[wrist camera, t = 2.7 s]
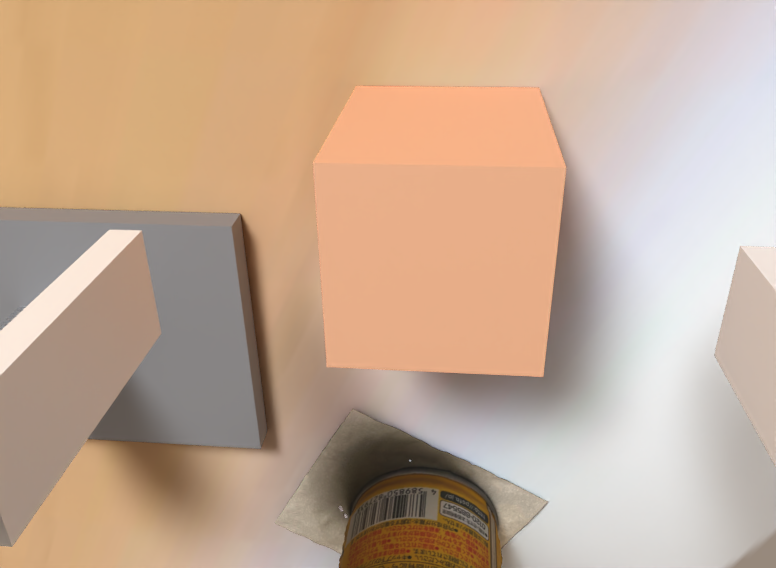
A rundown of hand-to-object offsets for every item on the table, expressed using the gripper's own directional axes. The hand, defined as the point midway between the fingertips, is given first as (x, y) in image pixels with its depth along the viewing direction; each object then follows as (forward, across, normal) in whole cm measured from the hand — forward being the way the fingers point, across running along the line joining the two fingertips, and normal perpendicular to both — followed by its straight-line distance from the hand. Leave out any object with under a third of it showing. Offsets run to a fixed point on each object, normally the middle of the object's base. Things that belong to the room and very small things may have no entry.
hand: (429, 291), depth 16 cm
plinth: (+7, -12, -6) cm, 15 cm away
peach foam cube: (+7, 0, 0) cm, 7 cm away
